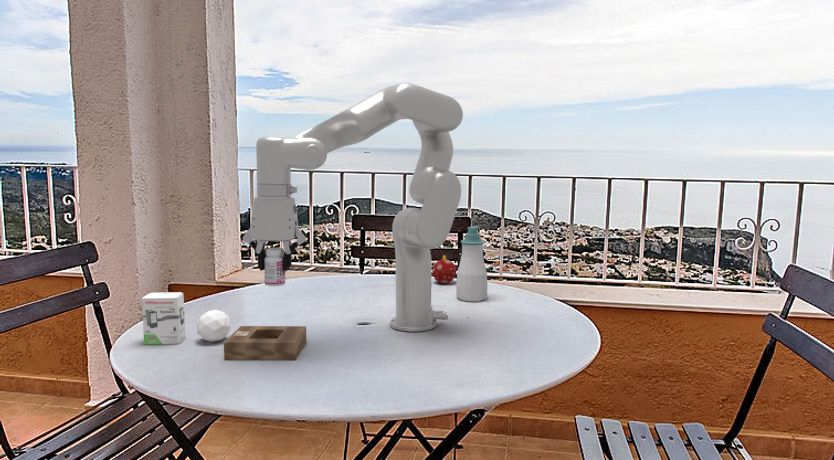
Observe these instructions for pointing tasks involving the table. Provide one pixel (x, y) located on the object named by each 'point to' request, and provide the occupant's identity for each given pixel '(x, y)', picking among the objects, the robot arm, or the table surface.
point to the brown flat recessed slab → (265, 343)
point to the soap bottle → (472, 269)
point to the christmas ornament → (444, 270)
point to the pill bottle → (274, 267)
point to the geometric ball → (213, 325)
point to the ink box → (163, 318)
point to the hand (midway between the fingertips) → (274, 269)
